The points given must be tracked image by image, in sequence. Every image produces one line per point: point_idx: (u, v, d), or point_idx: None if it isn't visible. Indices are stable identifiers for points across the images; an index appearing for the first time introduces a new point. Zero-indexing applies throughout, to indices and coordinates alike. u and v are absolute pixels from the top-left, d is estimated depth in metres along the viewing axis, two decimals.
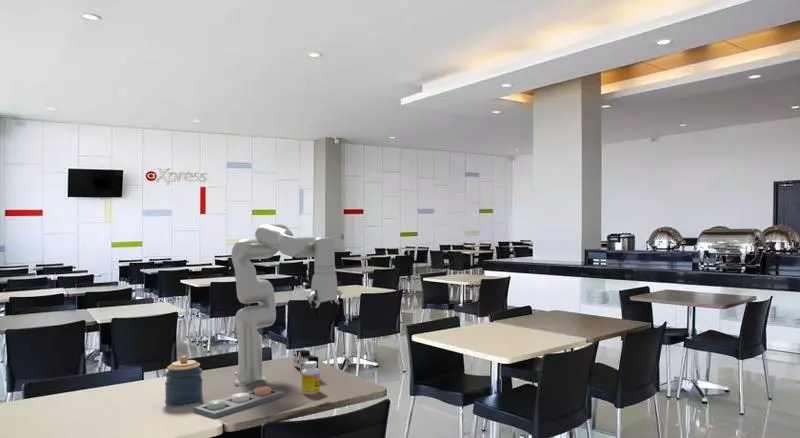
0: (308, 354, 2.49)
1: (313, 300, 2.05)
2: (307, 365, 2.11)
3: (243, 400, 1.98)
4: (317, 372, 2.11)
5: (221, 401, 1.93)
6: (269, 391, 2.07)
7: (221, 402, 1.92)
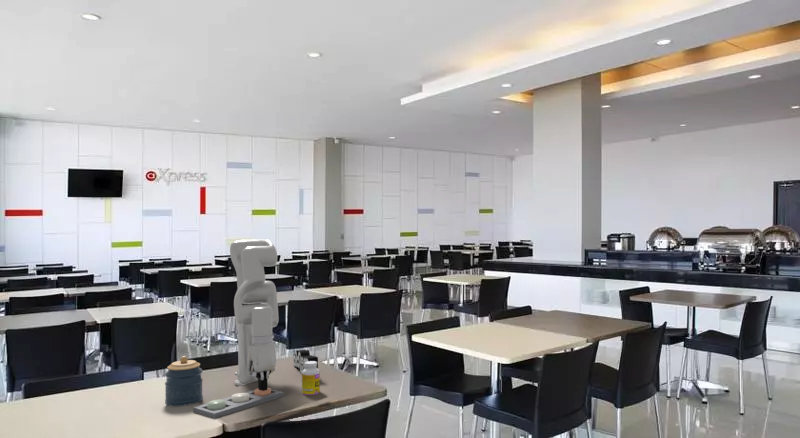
0: (308, 354, 2.50)
1: None
2: (307, 365, 2.11)
3: (243, 400, 1.98)
4: (317, 372, 2.11)
5: (221, 401, 1.93)
6: (269, 392, 2.07)
7: (221, 402, 1.92)
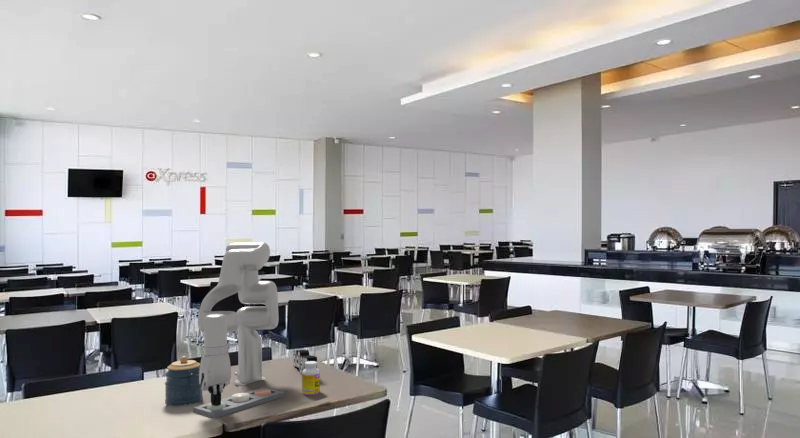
0: (307, 354, 2.50)
1: (208, 386, 1.91)
2: (307, 365, 2.11)
3: (243, 400, 1.98)
4: (317, 372, 2.11)
5: (221, 403, 1.93)
6: None
7: (221, 404, 1.92)
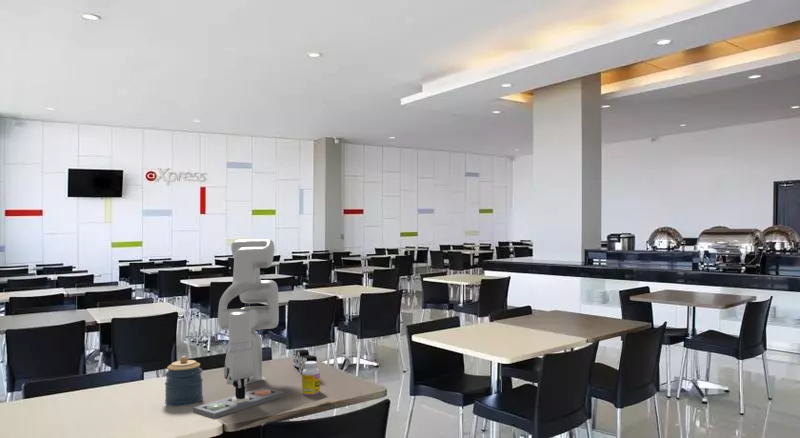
0: (307, 354, 2.50)
1: None
2: (307, 365, 2.11)
3: None
4: (317, 372, 2.11)
5: (221, 404, 1.93)
6: None
7: (221, 405, 1.92)
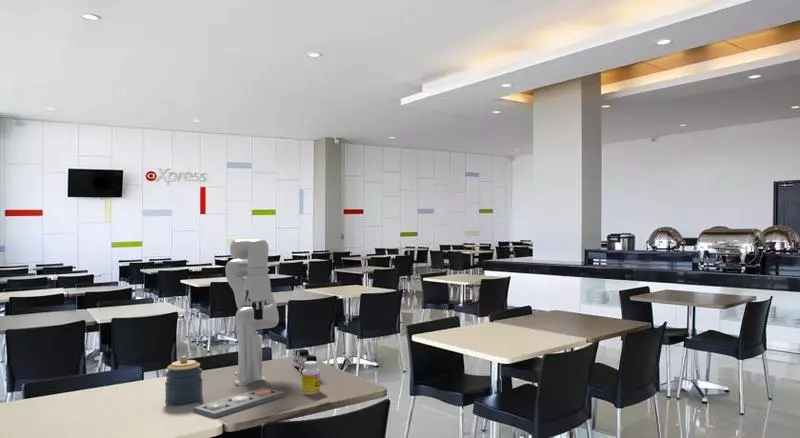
0: (307, 353, 2.51)
1: None
2: (307, 365, 2.11)
3: None
4: (317, 372, 2.11)
5: (221, 404, 1.93)
6: None
7: (221, 405, 1.92)
